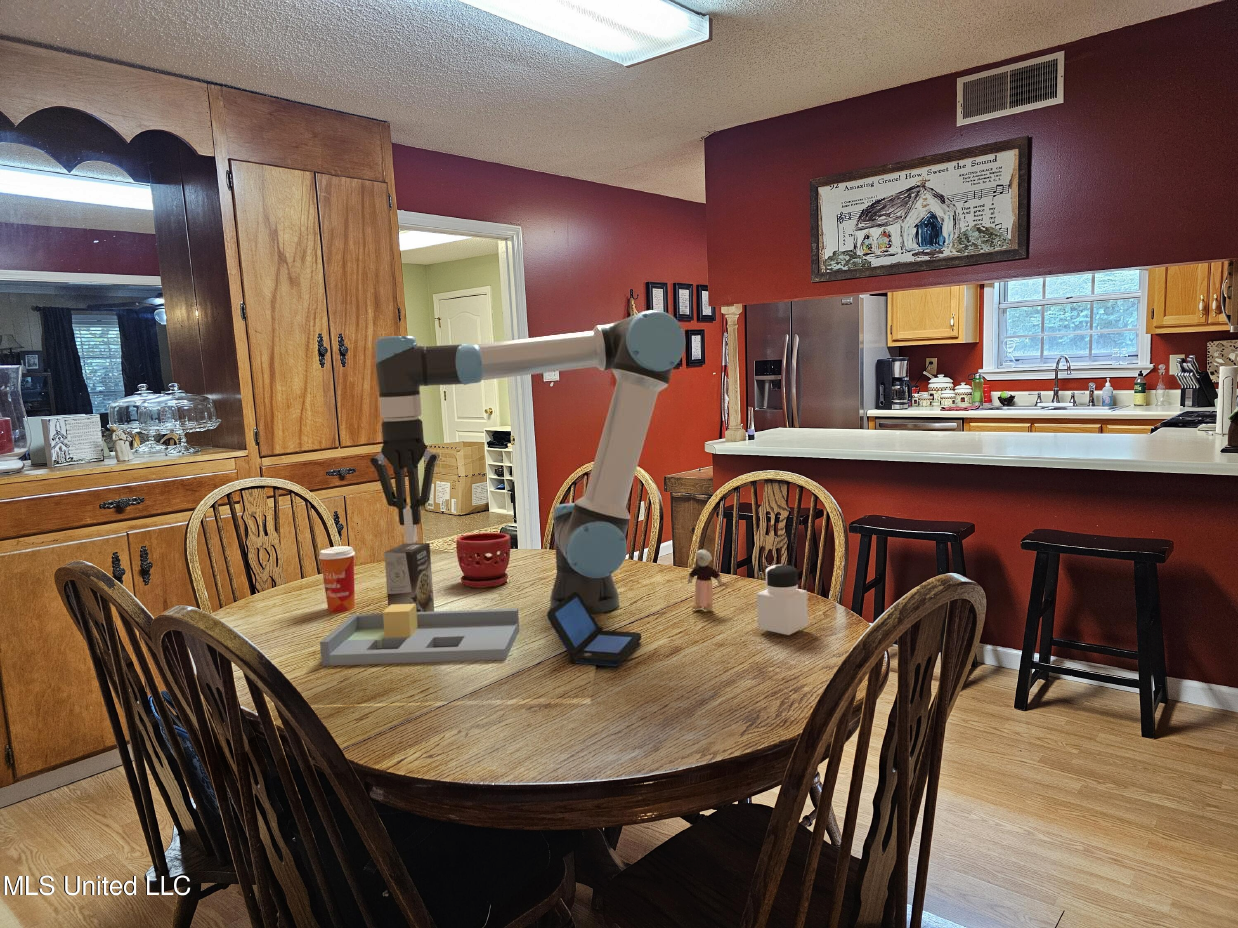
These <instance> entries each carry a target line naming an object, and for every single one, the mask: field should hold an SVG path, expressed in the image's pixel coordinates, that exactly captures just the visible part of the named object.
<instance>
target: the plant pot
mask: <svg viewBox="0 0 1238 928" xmlns="http://www.w3.org/2000/svg"><path fill="white" fill-rule="evenodd" d="M455 545H456V547H455V548H456V549H455V550H456V557H457V562H458V565H459V568H460V571H461V572H462V574H463V575H462V576H461V577H460V582H461V583H462V584H463V585H464V586H466V587H469V588H473V589H474V588H475V589H486V588H493V587H498V586H500V585H502V584H504V583H505V582H506V581H508V578H509V574H508V573H507V572H506V571H507V569H508V566H509V564H510V558H511V536H510V534H506V533H501V532H482V533H481V532H480V533H471V534H469V533H468V534H465V535H460V536H458V537H457V538H456V544H455ZM498 552H499V554H498ZM487 554H490V556H488V555H487Z"/></svg>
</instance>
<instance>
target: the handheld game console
mask: <svg viewBox="0 0 1238 928" xmlns="http://www.w3.org/2000/svg"><path fill="white" fill-rule="evenodd" d="M546 617H547V620H548V621H549V623H550V625H551V626H552V628H553V629H554V631H555V633H556V635H557V636H558V638H559V640H560V641H561V643H562V644H563V646H564V648H565V649H566V651H567V652H568V653H569V663H570V664H583V665H584V664H585V665H586V664H587V665H595V666H596V665H597V666H608V667H616V666H619V665H620V664H622V663H623V661H624V660H625V659H626V658H627V657H628V656H629V655H630V653H631V652H632V651H633V650H634V648H636V647H637V645H638V644H639V643H640V641H641V640H642V634H641V633H640V632H637V631H636V632H634V631H620V630H619V631H618V630H603V627H602V626H600V625H599V624H598V622H597V620H596V619H595V616H594V615H593V614H591V613H590V610H589V609H588V607H587V606H586V604H585V602H584V601H583V599H582V597H581V596H580V595H579V593H577V592H573V593H572V594H571V595H569V596H568V597H567V598H565V599H564V600H563V601H561V602H560V603H559V604H557V605H556V606H554V607H553V608H552V609H551V608H550V609H548V611H547V612H546Z"/></svg>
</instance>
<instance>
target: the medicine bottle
mask: <svg viewBox="0 0 1238 928" xmlns="http://www.w3.org/2000/svg"><path fill="white" fill-rule="evenodd" d="M798 573H799V571H798V569H797V568H796V567H795V566H792V565H788V564H774V565H771V566H769V567H767V568H766V569H765V588H766V589H764V590H762V591H759V592H757V593H756V610H757V613H756V617H757V629H759V630H763V631H764V630H765V631H768V632H773V633H776V634H777V633H778V634H782V635H786V636H790V635H792V634H794V633H797V632H798V631H800V630H802V629H804V628H806V627H807V626H808V624H809V623H808V622H809V618H808V617H809V616H808V614H809V613H808V612H809V611H808V591H807V590H806V589H805V590H804V589H800V588H799V576H798V575H799V574H798Z"/></svg>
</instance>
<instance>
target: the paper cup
mask: <svg viewBox="0 0 1238 928" xmlns="http://www.w3.org/2000/svg"><path fill="white" fill-rule="evenodd" d="M355 555H356V552H355V551H354V548H353V547H352V546H347V545H346V546H333V547H328V548H325V549H321V550H320V551H319V556H318V559H319V560H320V566H321V571H322V578H323V585H324V592H325V598H326V604H327V609H328V612H329V613H344V612H348V611H352V610H354V609H356V607H355V605H356V603H355V602H356V601H355V600H356V598H355V595H356V594H355V593H356V592H355V561H354V558H355Z"/></svg>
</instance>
